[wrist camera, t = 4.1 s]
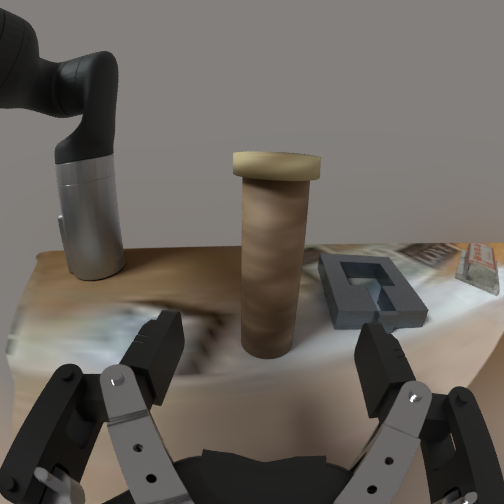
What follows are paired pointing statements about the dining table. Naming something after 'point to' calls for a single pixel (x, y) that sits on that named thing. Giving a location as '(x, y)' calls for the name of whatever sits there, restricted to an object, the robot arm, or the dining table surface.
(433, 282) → the dining table surface
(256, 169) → the walnut peg
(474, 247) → the packaged product
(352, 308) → the keyhole plate
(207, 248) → the dining table surface
